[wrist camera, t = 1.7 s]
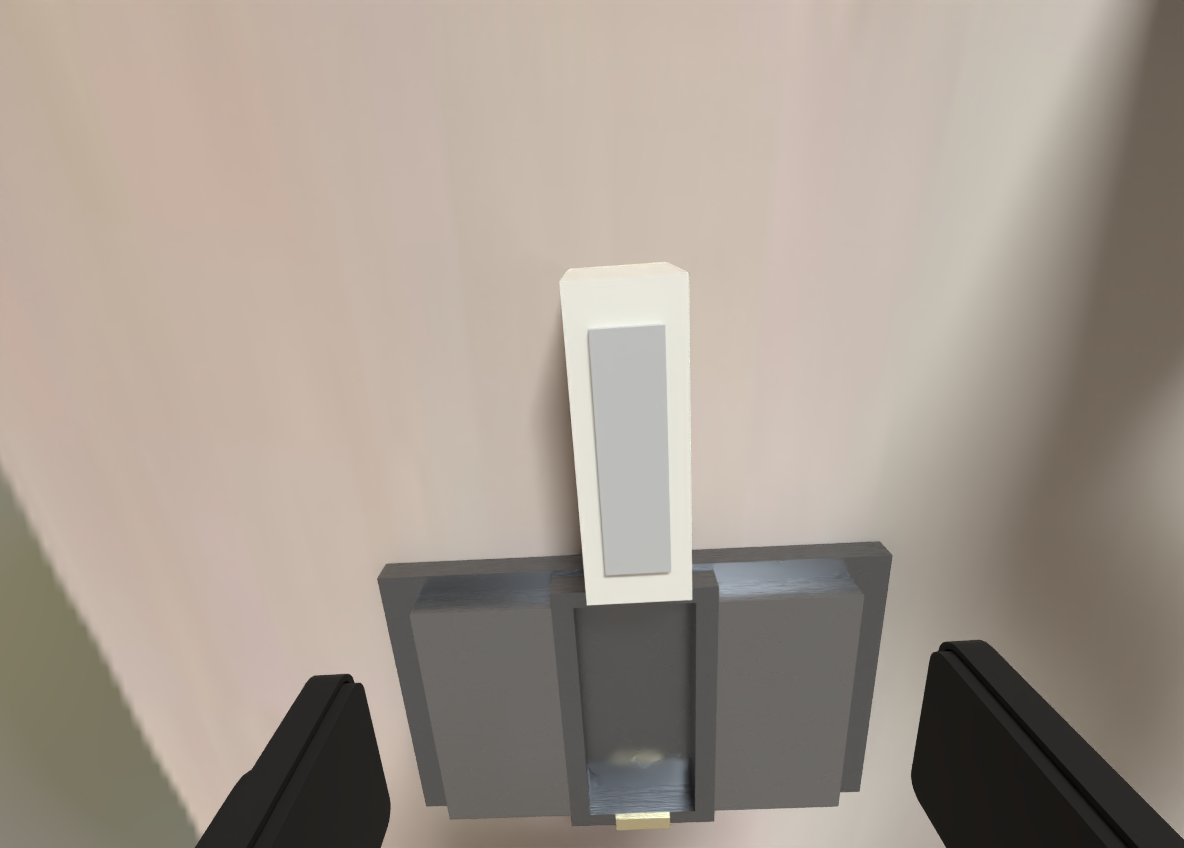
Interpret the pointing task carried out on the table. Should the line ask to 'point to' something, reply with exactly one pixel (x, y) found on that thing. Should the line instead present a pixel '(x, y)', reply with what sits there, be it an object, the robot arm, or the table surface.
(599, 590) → the blanking panel
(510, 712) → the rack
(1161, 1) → the table surface
